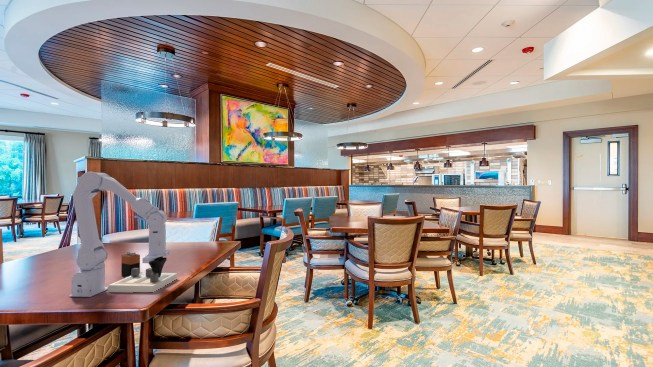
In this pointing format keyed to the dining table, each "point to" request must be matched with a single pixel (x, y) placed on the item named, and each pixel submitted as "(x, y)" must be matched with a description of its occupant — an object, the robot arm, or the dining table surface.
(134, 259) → the battery
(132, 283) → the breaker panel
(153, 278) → the block
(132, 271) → the block
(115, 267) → the dining table surface
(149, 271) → the block
